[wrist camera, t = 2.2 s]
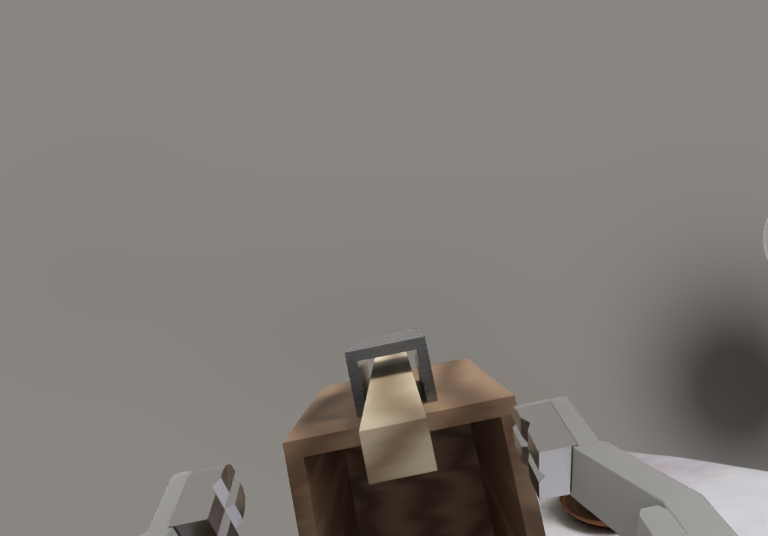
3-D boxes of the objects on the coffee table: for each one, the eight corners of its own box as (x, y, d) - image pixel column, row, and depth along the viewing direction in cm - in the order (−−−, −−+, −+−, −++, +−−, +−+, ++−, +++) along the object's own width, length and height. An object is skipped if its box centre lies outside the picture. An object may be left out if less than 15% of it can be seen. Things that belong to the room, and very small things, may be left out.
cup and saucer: (605, 481, 65) (596, 443, 66) (677, 515, 54) (665, 469, 54) (545, 507, 62) (536, 466, 62) (608, 549, 50) (596, 499, 51)
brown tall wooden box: (508, 553, 53) (466, 357, 55) (586, 720, 32) (514, 395, 34) (360, 584, 53) (323, 387, 55) (341, 772, 32) (282, 442, 34)
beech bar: (410, 375, 51) (405, 351, 51) (437, 470, 23) (426, 417, 23) (379, 381, 51) (375, 358, 51) (369, 484, 23) (358, 431, 23)
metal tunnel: (427, 378, 47) (417, 328, 47) (438, 400, 37) (424, 336, 37) (363, 391, 47) (353, 341, 47) (357, 417, 37) (344, 352, 37)
